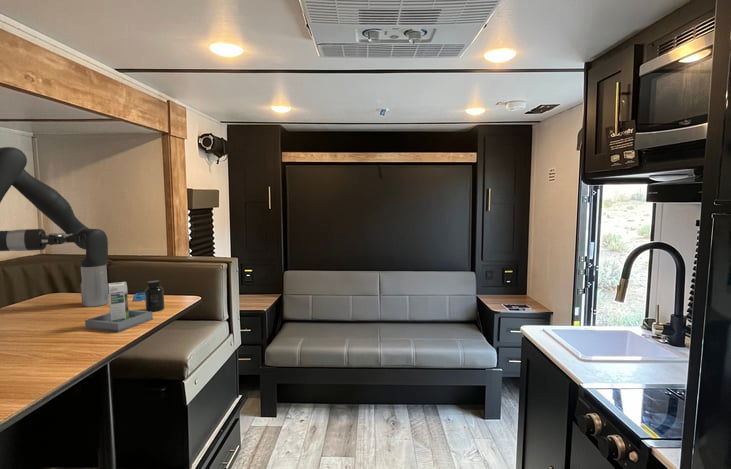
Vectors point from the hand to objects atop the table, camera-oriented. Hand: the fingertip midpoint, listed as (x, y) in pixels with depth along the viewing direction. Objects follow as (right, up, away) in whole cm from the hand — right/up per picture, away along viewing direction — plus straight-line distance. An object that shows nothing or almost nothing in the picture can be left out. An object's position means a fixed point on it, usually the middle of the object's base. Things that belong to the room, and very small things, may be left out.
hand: (82, 237), depth 145 cm
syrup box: (+13, -31, +2) cm, 34 cm away
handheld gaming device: (0, -29, +42) cm, 51 cm away
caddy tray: (+13, -32, +2) cm, 34 cm away
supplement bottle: (+16, -30, +20) cm, 40 cm away
